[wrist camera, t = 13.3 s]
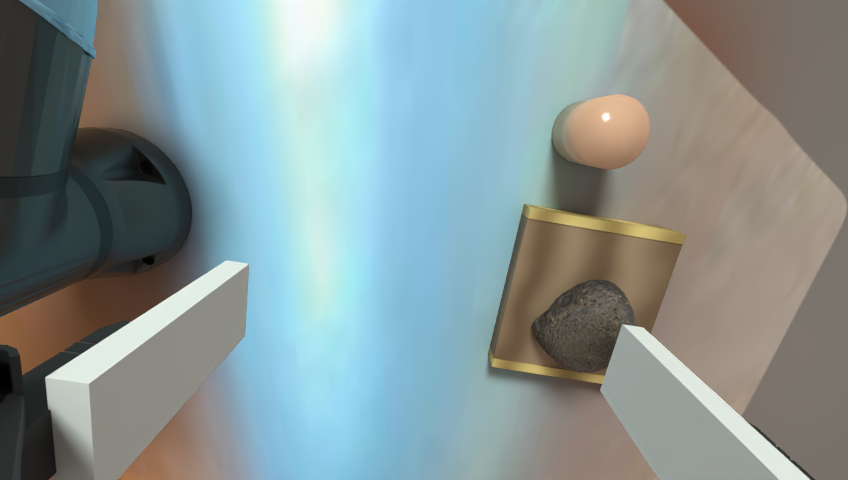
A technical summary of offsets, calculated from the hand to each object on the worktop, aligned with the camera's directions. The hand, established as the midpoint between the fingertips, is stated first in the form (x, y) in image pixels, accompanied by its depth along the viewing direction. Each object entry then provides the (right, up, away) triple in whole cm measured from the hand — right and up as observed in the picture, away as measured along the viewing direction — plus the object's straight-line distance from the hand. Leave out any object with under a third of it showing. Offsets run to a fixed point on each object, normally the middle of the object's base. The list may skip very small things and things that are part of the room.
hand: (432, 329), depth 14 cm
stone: (+16, -5, +29) cm, 33 cm away
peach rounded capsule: (+15, +14, +26) cm, 33 cm away
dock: (+17, -3, +30) cm, 35 cm away
